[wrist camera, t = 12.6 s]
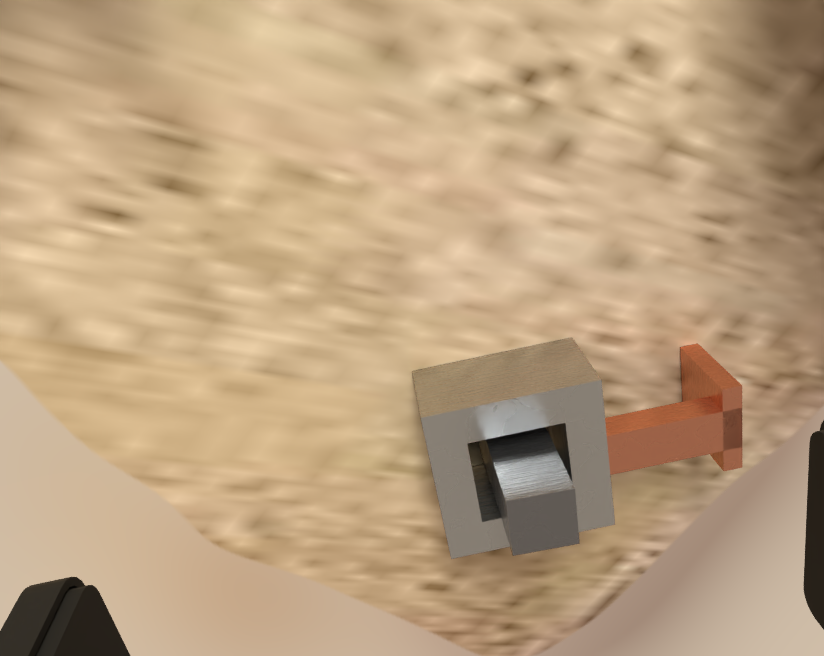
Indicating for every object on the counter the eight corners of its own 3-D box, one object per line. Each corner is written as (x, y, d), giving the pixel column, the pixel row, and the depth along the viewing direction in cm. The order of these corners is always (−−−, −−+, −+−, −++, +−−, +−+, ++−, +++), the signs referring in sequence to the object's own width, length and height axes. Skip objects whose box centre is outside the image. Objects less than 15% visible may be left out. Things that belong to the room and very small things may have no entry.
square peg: (529, 393, 41) (575, 488, 33) (534, 440, 43) (579, 543, 34) (473, 403, 41) (505, 501, 33) (480, 450, 42) (513, 555, 34)
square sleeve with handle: (440, 501, 44) (451, 558, 39) (411, 371, 40) (420, 417, 35) (700, 446, 44) (742, 497, 39) (696, 311, 40) (741, 350, 35)
